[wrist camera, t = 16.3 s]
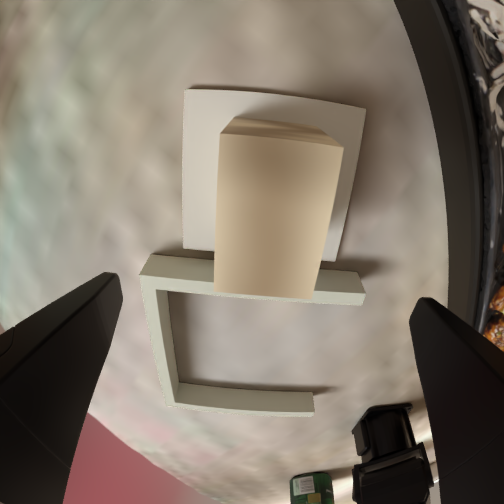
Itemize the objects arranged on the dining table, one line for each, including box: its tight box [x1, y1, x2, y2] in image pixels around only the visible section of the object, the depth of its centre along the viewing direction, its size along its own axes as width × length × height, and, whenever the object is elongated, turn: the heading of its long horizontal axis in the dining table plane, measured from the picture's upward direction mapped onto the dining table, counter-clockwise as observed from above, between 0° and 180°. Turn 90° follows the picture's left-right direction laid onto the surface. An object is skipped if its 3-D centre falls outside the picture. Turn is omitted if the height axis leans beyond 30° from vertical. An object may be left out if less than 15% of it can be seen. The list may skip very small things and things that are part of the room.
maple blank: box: [214, 117, 344, 299], centre depth 15 cm, size 4×7×6 cm, turn 175°
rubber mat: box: [182, 89, 366, 262], centre depth 18 cm, size 10×10×1 cm
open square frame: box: [139, 254, 366, 417], centre depth 24 cm, size 14×16×2 cm
